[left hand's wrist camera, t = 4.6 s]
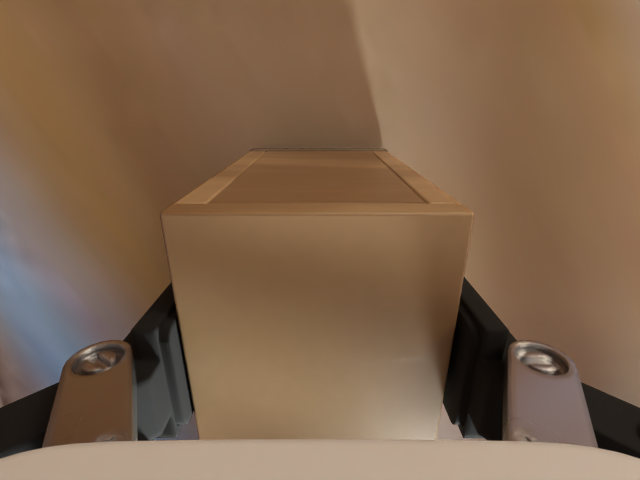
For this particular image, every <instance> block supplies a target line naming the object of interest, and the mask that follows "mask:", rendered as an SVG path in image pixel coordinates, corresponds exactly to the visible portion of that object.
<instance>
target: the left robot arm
mask: <svg viewBox="0 0 640 480" xmlns="http://www.w3.org/2000/svg"><path fill="white" fill-rule="evenodd" d="M443 404H444V406H445V409H446V411H447V414H448V416H449V418H450V421H451V423H452V424H458V427H459V429H460V431H461V434H462V436H463V438H485V439H487V440H486V441H480V440H402V439H238V440H160V441H154V440H153V439H155V438H177V436H178V434H179V431H180V429H181V427H182V424H188V423H189V421H190V418H191V416H192V414H193V411H194V407H193V401H192V396H191V390H190V384H189V378H188V373H187V367H186V361H185V356H184V350H183V344H182V338H181V333H180V327H179V321H178V316H177V310H176V304H175V299H174V293H173V287H172V282H171V283H170V285H169V286H168V287H167V288H166V289H165V290H164V292H163V293H162V294H161V295H160V296H159V298H158V299H157V300H156V301H155V302H154V304H153V305H152V306H151V307H150V308H149V310H148V311H147V312H146V313H145V314H144V316H143V317H142V318H141V319H140V320H139V322H138V323H137V324H136V325H135V326H134V328H133V329H132V330H131V332H130V333H129V334H128V336H127V337H126V338H125V339H124V340H123V341H120V340H109V341H103V342H99V343H96V344H93V345H90V346H88V347H86V348H84V349H82V350H80V351H78V352H77V353H76V354H74V355H73V356H72V357H71V358H70V359H69V360H68V361H67V362H66V363H65V365H64V367H63V370H62V374H61V377H60V381H59V383H56V384H54V385H52V386H49V387H47V388H45V389H43V390H40V391H38V392H36V393H33V394H31V395H29V396H27V397H24V398H22V399H20V400H17V401H15V402H13V403H11V404H8V405H6V406H4V407H1V408H0V480H640V408H639V407H636V406H634V405H632V404H629V403H627V402H625V401H623V400H620V399H618V398H616V397H613V396H611V395H609V394H607V393H604V392H602V391H600V390H597V389H595V388H593V387H591V386H588V385H586V384H584V383H581V381H580V377H579V374H578V370H577V367H576V365H575V363H574V362H573V361H572V360H571V359H570V358H569V357H568V356H567V355H566V354H564V353H563V352H562V351H560V350H558V349H556V348H554V347H552V346H550V345H547V344H544V343H541V342H537V341H531V340H520V341H517V340H516V339H515V338H514V337H513V336H512V334H511V333H510V332H509V330H508V329H507V328H506V326H505V325H504V324H503V323H502V322H501V320H500V319H499V318H498V317H497V316H496V314H495V313H494V312H493V311H492V310H491V308H490V307H489V306H488V305H487V304H486V302H485V301H484V300H483V299H482V298H481V296H480V295H479V294H478V293H477V292H476V291H475V289H474V288H473V287H472V286H471V285H470V283H469V282H468V281H467V280H466V279H465V277H464V278H463V284H462V290H461V296H460V302H459V308H458V314H457V320H456V326H455V332H454V338H453V344H452V349H451V355H450V361H449V367H448V373H447V379H446V385H445V391H444V397H443Z"/></svg>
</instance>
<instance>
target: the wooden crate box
mask: <svg viewBox="0 0 640 480" xmlns="http://www.w3.org/2000/svg"><path fill="white" fill-rule="evenodd" d="M160 219H161V224H162V230H163V236H164V241H165V247H166V253H167V259H168V264H169V270H170V276H171V281H172V287H173V293H174V299H175V304H176V310H177V316H178V321H179V327H180V333H181V338H182V344H183V350H184V356H185V361H186V367H187V373H188V378H189V384H190V390H191V396H192V401H193V407H194V413H195V418H196V424H197V430H198V435H199V440H238V439H402V440H436V438H437V432H438V427H439V421H440V415H441V409H442V403H443V397H444V391H445V385H446V379H447V373H448V367H449V361H450V355H451V349H452V344H453V338H454V332H455V326H456V320H457V314H458V308H459V302H460V296H461V290H462V284H463V278H464V272H465V267H466V261H467V255H468V249H469V243H470V237H471V231H472V225H473V219H474V213H473V212H472V211H471V210H469V209H468V208H466V207H465V206H463V205H462V204H460V203H459V202H458V201H456V200H455V199H453V198H452V197H450V196H449V195H448V194H446V193H445V192H443V191H442V190H441V189H439V188H438V187H436V186H435V185H434V184H432V183H431V182H429V181H428V180H427V179H425V178H424V177H422V176H421V175H419V174H418V173H417V172H415V171H414V170H412V169H411V168H410V167H408V166H407V165H405V164H404V163H403V162H401V161H400V160H398V159H397V158H395V157H394V156H393V155H391V154H390V153H388V152H387V150H386V149H252V150H250V152H249V153H247V154H246V155H244V156H243V157H241V158H240V159H239V160H237V161H236V162H234V163H233V164H231V165H230V166H228V167H227V168H225V169H224V170H222V171H221V172H219V173H218V174H216V175H215V176H214V177H212V178H211V179H209V180H208V181H206V182H205V183H203V184H202V185H200V186H199V187H197V188H196V189H194V190H193V191H191V192H190V193H189V194H187V195H186V196H184V197H183V198H181V199H180V200H178V201H177V202H175V204H173V205H171V206H170V207H168V208H167V209H165V210H164V211H162V212H161V213H160Z"/></svg>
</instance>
